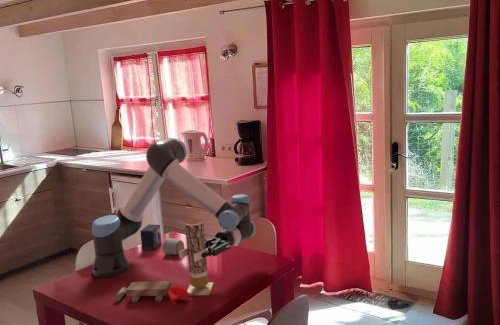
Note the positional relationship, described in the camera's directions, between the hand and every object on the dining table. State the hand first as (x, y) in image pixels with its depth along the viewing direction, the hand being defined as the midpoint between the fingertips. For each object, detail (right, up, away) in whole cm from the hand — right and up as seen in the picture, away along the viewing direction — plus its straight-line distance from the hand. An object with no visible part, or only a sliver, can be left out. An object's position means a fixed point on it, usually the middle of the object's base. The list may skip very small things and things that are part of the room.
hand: (187, 256), depth 174 cm
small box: (-25, -8, +58) cm, 64 cm away
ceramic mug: (-12, -8, +49) cm, 51 cm away
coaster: (+4, -14, +6) cm, 16 cm away
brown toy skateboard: (-17, -16, +3) cm, 24 cm away
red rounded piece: (-3, -16, -2) cm, 17 cm away
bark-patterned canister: (+4, -12, +6) cm, 14 cm away
